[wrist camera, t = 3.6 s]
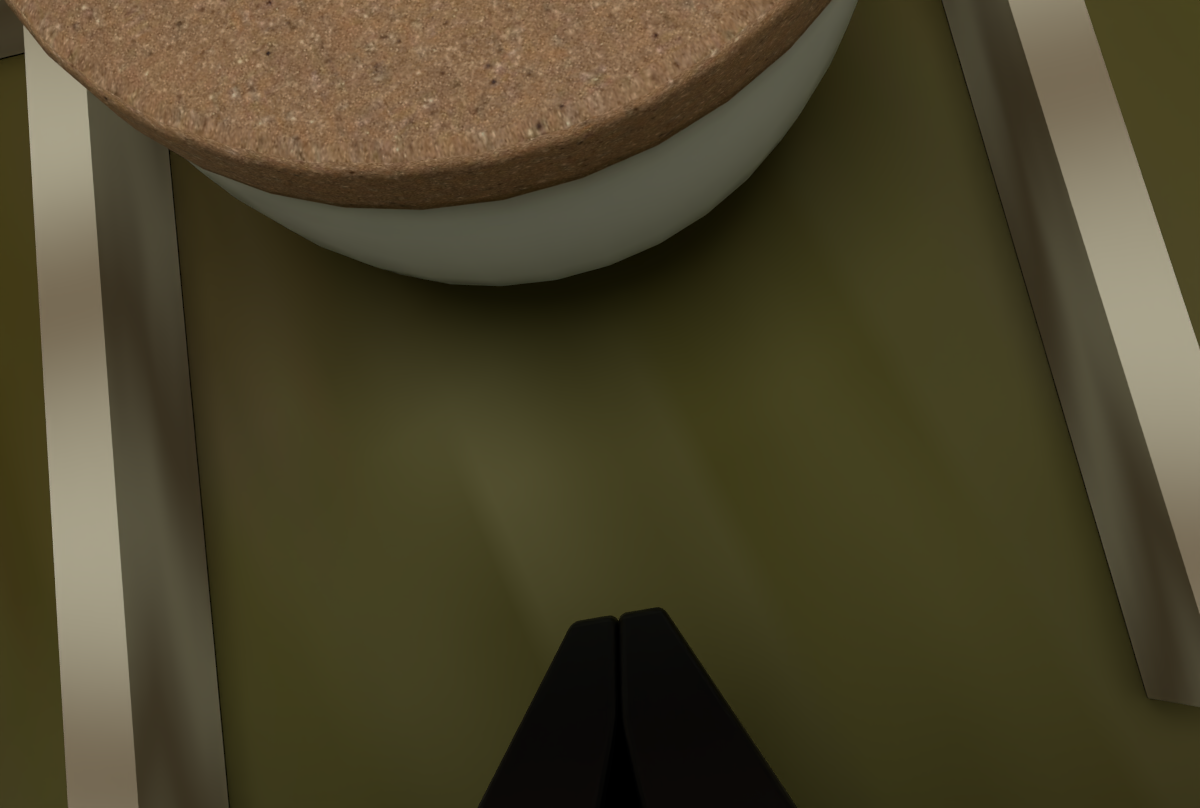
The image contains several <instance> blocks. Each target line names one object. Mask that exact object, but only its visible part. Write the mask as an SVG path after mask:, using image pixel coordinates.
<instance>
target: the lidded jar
mask: <svg viewBox="0 0 1200 808" xmlns="http://www.w3.org/2000/svg"><path fill="white" fill-rule="evenodd" d="M5 2H6V4H7V5H8V6H9V7H10V9H11V10H12V11H13V12H14V14H15V15H16V16H17V17H18V19H19V20H20V21H21V22H22V24H23V25H24V26H25V27H26V29H27V30H28V31H29V33H30V34H31V35H32V36H33V38H34V39H35V40H36V41H37V43H38V44H39V45H40V46H41V48H42V49H43V50H44V51H45V53H46V54H47V55H48V56H49V57H50V58H51V59H53V60H54V61H55V62H56V63H57V64H58V65H59V66H61V67H62V68H63V69H64V70H65V71H66V72H67V73H69V74H70V75H71V76H72V77H73V78H74V79H76V80H77V81H78V82H79V83H80V84H81V85H83V86H84V87H85V88H86V89H87V90H89V91H90V92H91V93H92V94H93V95H94V96H96V97H97V98H98V99H99V100H100V101H101V102H103V103H104V104H105V105H106V106H107V107H108V108H110V109H111V110H112V111H113V112H114V113H115V114H117V115H118V116H119V117H120V118H122V119H123V120H124V121H125V122H127V123H128V124H129V125H130V126H132V127H133V128H134V129H136V130H137V131H139V132H141V133H142V134H144V135H145V136H147V137H149V138H151V139H152V140H154V141H156V142H157V143H159V144H161V145H163V146H164V147H166V148H168V149H169V150H171V151H173V152H175V153H176V154H178V155H180V156H182V157H183V158H185V159H186V160H188V161H189V162H190V163H191V164H192V165H194V166H195V167H196V168H197V169H198V170H199V171H201V172H202V173H203V174H205V175H206V176H207V177H209V178H210V179H211V180H213V181H214V182H215V183H217V184H218V185H219V186H220V187H222V188H223V189H224V190H226V191H227V192H228V193H230V194H231V195H232V196H234V197H235V198H236V199H238V200H240V201H241V202H243V203H245V204H247V205H248V206H250V207H252V208H253V209H255V210H257V211H259V212H260V213H262V214H264V215H265V216H267V217H269V218H271V219H272V220H274V221H276V222H278V223H279V224H281V225H283V226H284V227H286V228H288V229H290V230H291V231H293V232H295V233H297V234H299V235H301V236H302V237H304V238H306V239H308V240H310V241H311V242H313V243H315V244H317V245H319V246H320V247H323V248H326V249H329V250H331V251H334V252H337V253H339V254H342V255H345V256H347V257H350V258H353V259H355V260H358V261H361V262H363V263H366V264H369V265H371V266H374V267H378V268H381V269H384V270H387V271H390V272H394V273H397V274H401V275H406V276H411V277H416V278H421V279H426V280H431V281H436V282H441V283H446V284H460V285H486V286H507V285H516V284H525V283H534V282H543V281H552V280H558V279H562V278H565V277H569V276H573V275H576V274H580V273H584V272H588V271H591V270H595V269H599V268H602V267H606V266H610V265H612V264H614V263H616V262H619V261H621V260H623V259H626V258H628V257H630V256H633V255H635V254H637V253H640V252H642V251H644V250H646V249H649V248H651V247H653V246H656V245H658V244H660V243H662V242H663V241H665V240H666V239H668V238H670V237H671V236H673V235H674V234H676V233H678V232H679V231H681V230H682V229H684V228H686V227H687V226H689V225H690V224H692V223H694V222H695V221H697V220H698V219H700V218H702V217H703V216H705V215H706V214H708V213H709V212H710V211H711V210H712V209H713V208H715V207H716V206H717V205H718V204H719V203H720V202H722V201H723V200H724V199H725V198H726V197H727V196H729V195H730V194H731V193H732V192H733V191H734V190H736V189H737V188H738V187H739V186H740V185H742V184H743V183H744V182H745V181H746V180H747V179H748V178H749V177H750V176H751V175H752V174H753V172H754V171H755V170H756V169H757V168H758V167H759V165H760V164H761V163H762V162H763V161H764V160H765V158H766V157H767V156H768V155H769V154H770V153H771V151H772V150H773V149H774V148H775V147H776V146H777V144H778V143H779V142H780V141H781V140H782V139H783V137H784V136H785V134H786V133H787V132H788V130H789V129H790V127H791V126H792V125H793V123H794V122H795V121H796V119H797V118H798V116H799V115H800V113H801V112H802V110H803V108H804V107H805V105H806V104H807V102H808V100H809V99H810V97H811V95H812V94H813V92H814V90H815V89H816V87H817V86H818V84H819V82H820V81H821V79H822V77H823V76H824V74H825V73H826V71H827V69H828V68H829V66H830V64H831V62H832V60H833V57H834V55H835V53H836V51H837V49H838V46H839V44H840V42H841V40H842V38H843V36H844V33H845V31H846V29H847V27H848V24H849V22H850V19H851V17H852V14H853V12H854V9H855V7H856V4H857V2H858V0H5Z"/></svg>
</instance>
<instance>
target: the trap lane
mask: <svg viewBox="0 0 1200 808" xmlns="http://www.w3.org/2000/svg"><path fill="white" fill-rule="evenodd" d="M942 2H943V5H944V9H945V12H946V15H947V19H948V22H949V26H950V29H951V32H952V36H953V39H954V43H955V46H956V49H957V53H958V56H959V59H960V63H961V66H962V70H963V73H964V76H965V80H966V83H967V87H968V90H969V93H970V97H971V100H972V104H973V107H974V110H975V114H976V117H977V120H978V124H979V127H980V131H981V134H982V137H983V141H984V144H985V148H986V151H987V154H988V158H989V161H990V165H991V168H992V171H993V175H994V178H995V182H996V185H997V188H998V192H999V195H1000V198H1001V202H1002V205H1003V209H1004V212H1005V215H1006V219H1007V222H1008V226H1009V229H1010V232H1011V236H1012V239H1013V243H1014V246H1015V249H1016V253H1017V256H1018V259H1019V263H1020V266H1021V270H1022V273H1023V276H1024V280H1025V283H1026V287H1027V290H1028V293H1029V297H1030V300H1031V304H1032V307H1033V310H1034V314H1035V317H1036V321H1037V324H1038V327H1039V331H1040V334H1041V337H1042V341H1043V344H1044V348H1045V351H1046V354H1047V358H1048V361H1049V365H1050V368H1051V371H1052V375H1053V378H1054V382H1055V385H1056V388H1057V392H1058V395H1059V398H1060V402H1061V405H1062V409H1063V412H1064V415H1065V419H1066V422H1067V426H1068V429H1069V432H1070V436H1071V439H1072V443H1073V446H1074V449H1075V453H1076V456H1077V460H1078V463H1079V466H1080V470H1081V473H1082V476H1083V480H1084V483H1085V487H1086V490H1087V493H1088V497H1089V500H1090V504H1091V507H1092V510H1093V514H1094V517H1095V521H1096V524H1097V527H1098V531H1099V534H1100V537H1101V541H1102V544H1103V548H1104V551H1105V554H1106V558H1107V561H1108V565H1109V568H1110V571H1111V575H1112V578H1113V582H1114V585H1115V588H1116V592H1117V595H1118V599H1119V602H1120V605H1121V609H1122V612H1123V615H1124V619H1125V622H1126V626H1127V629H1128V632H1129V636H1130V639H1131V643H1132V646H1133V649H1134V653H1135V656H1136V660H1137V663H1138V666H1139V670H1140V673H1141V676H1142V680H1143V683H1144V687H1145V690H1146V693H1147V697H1148V698H1150V699H1156V700H1162V701H1168V702H1174V703H1179V704H1185V705H1191V706H1197V707H1200V349H1199V346H1198V343H1197V340H1196V337H1195V334H1194V331H1193V328H1192V325H1191V322H1190V319H1189V316H1188V313H1187V310H1186V307H1185V304H1184V301H1183V298H1182V295H1181V292H1180V289H1179V286H1178V283H1177V280H1176V277H1175V274H1174V271H1173V268H1172V265H1171V262H1170V259H1169V256H1168V253H1167V250H1166V247H1165V244H1164V241H1163V238H1162V234H1161V231H1160V228H1159V225H1158V222H1157V219H1156V216H1155V213H1154V210H1153V207H1152V204H1151V201H1150V198H1149V195H1148V192H1147V189H1146V186H1145V183H1144V180H1143V177H1142V174H1141V171H1140V168H1139V165H1138V162H1137V159H1136V156H1135V153H1134V150H1133V147H1132V144H1131V141H1130V138H1129V135H1128V132H1127V129H1126V126H1125V123H1124V120H1123V117H1122V114H1121V111H1120V108H1119V105H1118V102H1117V99H1116V96H1115V93H1114V90H1113V87H1112V84H1111V81H1110V78H1109V75H1108V72H1107V69H1106V66H1105V63H1104V60H1103V57H1102V54H1101V51H1100V47H1099V44H1098V41H1097V38H1096V35H1095V32H1094V29H1093V26H1092V23H1091V20H1090V17H1089V14H1088V11H1087V8H1086V5H1085V2H1084V0H942ZM24 52H25V64H26V81H27V99H28V116H29V134H30V151H31V168H32V186H33V203H34V221H35V238H36V256H37V273H38V290H39V308H40V325H41V343H42V360H43V378H44V395H45V412H46V430H47V447H48V465H49V482H50V500H51V517H52V534H53V552H54V569H55V587H56V604H57V622H58V639H59V656H60V674H61V691H62V709H63V726H64V744H65V761H66V778H67V796H68V808H229V804H228V793H227V782H226V771H225V760H224V749H223V738H222V727H221V717H220V706H219V695H218V684H217V673H216V662H215V651H214V640H213V629H212V618H211V608H210V597H209V586H208V575H207V564H206V553H205V542H204V531H203V520H202V509H201V498H200V488H199V477H198V466H197V455H196V444H195V433H194V422H193V411H192V400H191V389H190V379H189V368H188V357H187V346H186V335H185V324H184V313H183V302H182V291H181V280H180V270H179V259H178V248H177V237H176V226H175V215H174V204H173V193H172V182H171V171H170V160H169V150H168V148H166V147H164V146H163V145H161V144H159V143H157V142H156V141H154V140H152V139H151V138H149V137H147V136H145V135H144V134H142V133H141V132H139V131H137V130H136V129H134V128H133V127H132V126H130V125H129V124H128V123H127V122H125V121H124V120H123V119H122V118H120V117H119V116H118V115H117V114H115V113H114V112H113V111H112V110H111V109H110V108H108V107H107V106H106V105H105V104H104V103H103V102H101V101H100V100H99V99H98V98H97V97H96V96H94V95H93V94H92V93H91V92H90V91H89V90H87V89H86V88H85V87H84V86H83V85H81V84H80V83H79V82H78V81H77V80H76V79H74V78H73V77H72V76H71V75H70V74H69V73H67V72H66V71H65V70H64V69H63V68H62V67H61V66H59V65H58V64H57V63H56V62H55V61H54V60H53V59H51V58H50V57H49V56H48V55H47V54H46V53H45V51H44V50H43V49H42V48H41V46H40V45H39V44H38V43H37V41H36V40H35V39H34V38H33V36H32V35H31V34H30V33H29V31H28V30H27V29H26V27H25V26H24V25H23V24H22V22H21V21H20V20H19V19H18V17H17V16H16V15H15V14H14V12H13V11H12V10H11V9H10V7H9V6H8V5H7V4H6V2H5V0H0V58H3V57H7V56H12V55H16V54H20V53H24Z"/></svg>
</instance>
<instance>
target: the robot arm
mask: <svg viewBox="0 0 1200 808" xmlns="http://www.w3.org/2000/svg"><path fill="white" fill-rule="evenodd" d="M478 808H797V806H796V805H795V803H794V802H793V800H792V799H791V797H790V796H789V794H788V793H787V791H786V790H785V788H784V787H783V785H782V784H781V782H780V781H779V779H778V778H777V776H776V775H775V773H774V772H773V770H772V769H771V767H770V766H769V764H768V763H767V761H766V760H765V758H764V757H763V755H762V754H761V752H760V751H759V749H758V748H757V747H756V745H755V744H754V742H753V741H752V739H751V738H750V736H749V735H748V733H747V732H746V730H745V729H744V727H743V726H742V724H741V723H740V721H739V720H738V718H737V717H736V715H735V714H734V712H733V711H732V709H731V708H730V706H729V705H728V703H727V702H726V700H725V699H724V697H723V696H722V694H721V693H720V691H719V690H718V688H717V687H716V685H715V684H714V682H713V681H712V679H711V678H710V676H709V675H708V673H707V672H706V670H705V669H704V667H703V666H702V664H701V663H700V661H699V660H698V658H697V657H696V655H695V654H694V652H693V651H692V649H691V648H690V646H689V645H688V643H687V642H686V640H685V639H684V637H683V636H682V634H681V633H680V631H679V630H678V628H677V627H676V625H675V624H674V622H673V621H672V619H671V618H670V616H669V615H668V613H667V612H666V611H665V610H664V609H662V608H659V607H656V608H650V609H644V610H638V611H632V612H627V613H624V614H622V615H621V616H620V619H619V621H618V620H617V618H616V617H614V616H603V617H598V618H592V619H586V620H580V621H577V622H575V623H573V624H572V625H571V626H570V628H569V629H568V631H567V633H566V635H565V637H564V639H563V641H562V643H561V645H560V647H559V649H558V651H557V653H556V655H555V657H554V659H553V661H552V663H551V665H550V667H549V669H548V671H547V673H546V675H545V676H544V678H543V680H542V682H541V684H540V686H539V688H538V690H537V692H536V694H535V696H534V698H533V700H532V702H531V704H530V706H529V708H528V710H527V712H526V714H525V716H524V718H523V720H522V722H521V724H520V726H519V727H518V729H517V731H516V733H515V735H514V737H513V739H512V741H511V743H510V745H509V747H508V749H507V751H506V753H505V755H504V757H503V759H502V761H501V763H500V765H499V767H498V769H497V771H496V773H495V775H494V777H493V778H492V780H491V782H490V784H489V786H488V788H487V790H486V792H485V794H484V796H483V798H482V800H481V802H480V804H479V806H478Z"/></svg>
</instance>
